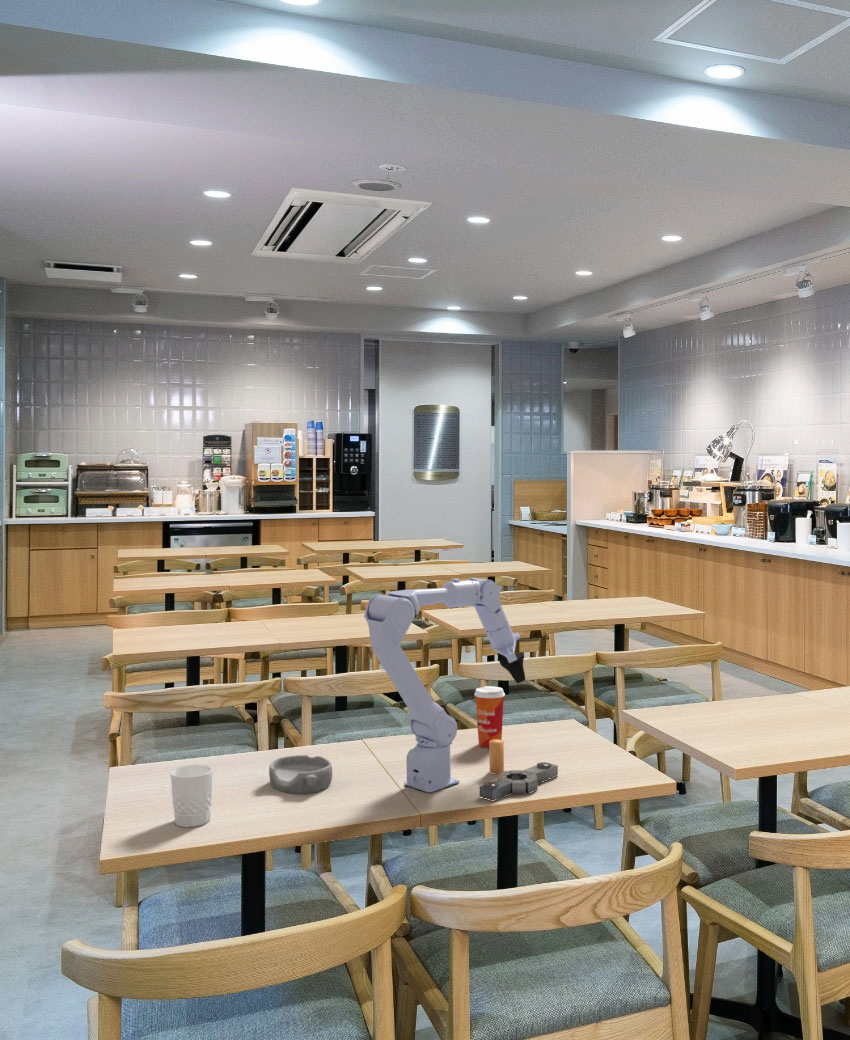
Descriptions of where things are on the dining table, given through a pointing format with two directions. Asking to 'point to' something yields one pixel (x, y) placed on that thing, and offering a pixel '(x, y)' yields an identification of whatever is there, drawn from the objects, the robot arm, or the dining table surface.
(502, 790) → the left chain end
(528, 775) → the right chain end
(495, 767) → the orange pin
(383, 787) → the dining table surface
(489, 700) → the paper cup
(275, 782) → the dish
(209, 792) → the white cup
